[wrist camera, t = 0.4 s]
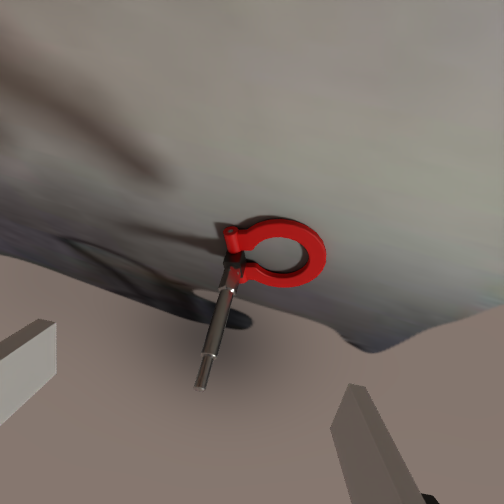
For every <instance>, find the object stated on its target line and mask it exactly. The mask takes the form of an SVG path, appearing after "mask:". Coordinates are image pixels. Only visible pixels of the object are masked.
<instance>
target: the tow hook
mask: <svg viewBox="0 0 504 504" xmlns="http://www.w3.org/2000/svg"><path fill="white" fill-rule="evenodd" d="M223 234H224V238H225V241H226V245H227V252H226V255H225V258H224V261H223V265H224V268H225V269H224V272H223V275H222V278H221V281H220V284H219V287H218V290H219V297H218V300H217V303H216V306H215V309H214V313H213V316H212V319H211V322H210V326H209V329H208V332H207V335H206V339H205V342H204V345H203V348H202V351H201V357H202V362H201V365H200V368H199V372H198V375H197V378H196V381H195V385H194V389H195V390H196V391H199V392H204V391H205V389H206V386H207V382H208V378H209V375H210V371H211V367H212V364H213V361H214V360H216V359H217V356H218V352H219V349H220V344H221V340H222V337H223V333H224V329H225V325H226V321H227V318H228V314H229V310H230V306H231V302H232V298H233V296H235V295H236V293H237V289H238V285H239V283H245V282H247V280H256V281H258V282H260V283H263V284H266V285H268V286H274V287H295V286H300V285H303V284H305V283H308V282H310V281H311V280H313V279H314V278H316V277H317V276H318V275H319V274H320V273H321V272H322V270H323V268H324V266H325V263H326V249H325V246H324V243H323V240H322V239H321V238H320V237H319V235H318V234H317V233H316V232H315V231H314V230H312V229H311V228H309V227H308V226H307V225H304V224H301V223H299V222H296V221H292V220H286V219H271V220H266V221H263V222H259V223H257V224H255V225H253V226H252V227H250V228H248V229H247V230H238V228H237V227H234V226H230V227H227V228H225V229H224V231H223ZM272 237H284V238H289V239H292V240H295V241H297V242H298V243H300V244H301V245H303V246H304V248H305V249H306V250H307V252H308V254H309V259H308V262H307V263H306V264H305V266H304V267H303V268H301V269H300V270H298V271H295V272H293V273H288V274H278V273H272V272H270V271H267V270H265V269H263V268H262V267H260V266H259V265H258V264H257V263H246V258H245V253H244V250H253V249H254V247H255V246H256V245H257V244H258V243H259V242H261V241H263V240H265V239H268V238H272Z"/></svg>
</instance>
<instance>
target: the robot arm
mask: <svg viewBox="0 0 504 504" xmlns="http://www.w3.org/2000/svg"><path fill="white" fill-rule="evenodd" d="M55 374H56V322H52V321H47V320H42V319H37V320H35V321H34V322H32V323H30V324H29V325H27V326H25V327H24V328H22V329H21V330H19V331H18V332H16V333H14V334H12V335H11V336H9V337H8V338H6V339H4V340H3V341H1V342H0V426H1V425H2V424H3V423H4V422H5V421H6V420H7V419H8V418H9V417H10V416H11V415H12V414H14V413H15V412H16V411H17V410H18V409H19V408H20V407H21V406H22V405H23V404H24V403H25V402H26V401H27V400H29V399H30V398H31V397H32V396H33V395H34V394H35V393H36V392H37V391H38V390H39V389H40V388H41V387H42V386H43V385H44V384H46V382H48V381H49V380H50V379H51V378H52V377H53V376H54V375H55ZM330 430H331V434H332V437H333V441H334V444H335V447H336V451H337V454H338V458H339V461H340V465H341V468H342V472H343V475H344V479H345V482H346V486H347V489H348V492H349V495H350V499H351V503H352V504H439V503H438V501H437V500H436V499H435V498H434V496H432V495H426V494H422V493H420V491H419V489H418V487H417V485H416V484H415V481H414V479H413V477H412V476H411V474H410V472H409V470H408V468H407V466H406V464H405V462H404V460H403V458H402V456H401V455H400V452H399V451H398V449H397V447H396V445H395V443H394V441H393V439H392V437H391V435H390V433H389V432H388V429H387V428H386V426H385V424H384V422H383V420H382V418H381V416H380V414H379V412H378V410H377V408H376V406H375V405H374V403H373V401H372V399H371V397H370V395H369V393H368V391H367V389H366V387H364V386H359V385H354V384H348V387H347V389H346V391H345V394H344V396H343V399H342V401H341V403H340V406H339V408H338V411H337V413H336V415H335V418H334V420H333V423H332V425H331V427H330Z"/></svg>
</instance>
